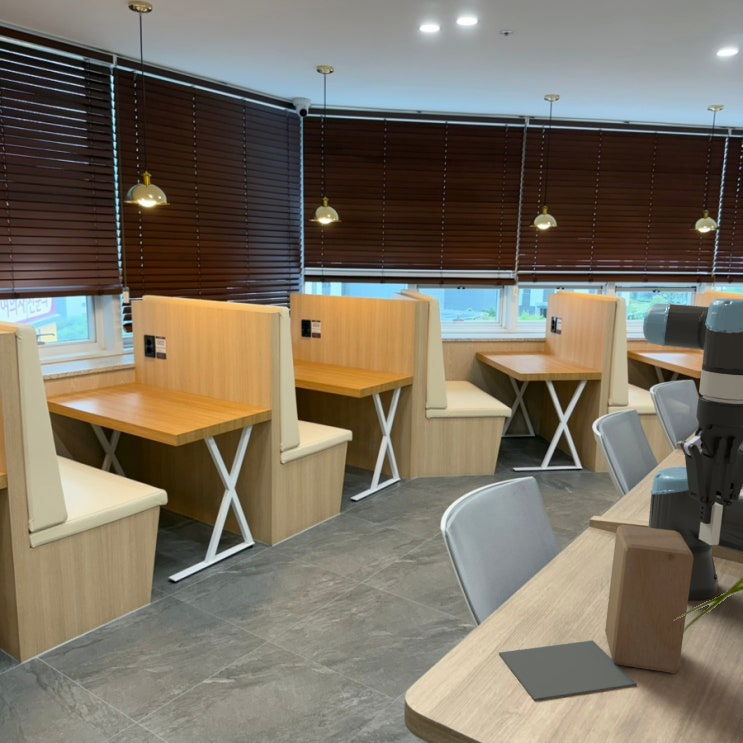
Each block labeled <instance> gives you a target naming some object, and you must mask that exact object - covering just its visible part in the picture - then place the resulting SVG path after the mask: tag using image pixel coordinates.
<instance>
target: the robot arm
mask: <svg viewBox="0 0 743 743" xmlns="http://www.w3.org/2000/svg"><path fill="white" fill-rule="evenodd" d="M642 331H643V336H644V338H645V340H646V341H647V342H648V343H649V344H652V345H657V346H662V347H670V348H678V349H679V348H681V349H689V350H701V351H703V356H702V364H701V372H700V382H699V391H698V393H699V394H700V395H702V396H700V397H699V398H698V399H697V406H696V407H697V408H696V419H697V422H698V426H697V428H696V430H695V432H694V437H692V438H691V439H690V440H689V441H686V440H683V441H681V442H680V444H679V446H680V448H681V450H682V453H683V454H684V460H685V461H684V462H685V466H675V467H668V468H663V469H660V470H658V471H657V472H656V473H655V475H654V477H653V481H652V487H651V490H650V494H651V495H650V505H649V516H648V518H649V519H648V527H647V528H655V529H664V530H672V531H677V532H678V533H680V534H681V536H682V538H683V539H684V541H685V542H686V544H687V546H688V547H689V549H690V550H691V552H692V554H693V557H694V558H693V566H692V573H691V581H690V588H689V596H688V601H694V600H695V601H699V600H705V599H709V598H712V597H713V596H715V595H716V594H717V591H718V584H719V578H718V574H717V570H716V566H715V562H714V558H713V554H712V546H716V547H719V548H723V549H726V550H729V551H732V552H735V553H738V554H740V555H743V298H715V299H713V300H711V302H710V303H709V305H708V306H700V305H699V306H698V305H689V304H677V303H675V304H674V303H654V304H652V305H651V306H649V308H648V309H647V310H646V312H645V316H644V318H643V325H642Z"/></svg>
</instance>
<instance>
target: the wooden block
mask: <svg viewBox="0 0 743 743" xmlns="http://www.w3.org/2000/svg"><path fill="white" fill-rule="evenodd" d="M614 540H615V541H614V550H613V560H612V566H611V577H610V586H609V593H608V594H609V595H608V603H607V611H606V618H605V619H606V620H605V628H604V631H605V636H606V640H607V644H608V647H609V648H608V649H609V653H610V656H611V659H612V660H613V662H614V663H616V664H617V665H618V666H626V667H633V668H639V669H644V670H645V669H646V670H653V671H658V672H665V673H672V674H674V673H675V674H676V673H677V672H678V670H679V668H680V662H681V655H682V647H683V640H684V632H685V624H686V617H687V609H688V603H689V600H688V596H689V588H690V581H691V573H692V566H693V558H694V557H693V554H692V552H691V550H690V549H689V547H688V546H687V544H686V542H685V541H684V539H683V538H682V536H681V534H680V533H678V532H677V531H672V530H664V529H655V528H648V527H647V526H645V527H644V526H636V525H628V524H620V525H618V526H617V528H616V533H615V539H614ZM684 613H686V615H685V616H683V617H681V618H679V619H677V620H675V621H673V620H674V619H676V618H677V617H679V616H681V615H682V614H684Z"/></svg>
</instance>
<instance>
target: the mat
mask: <svg viewBox="0 0 743 743" xmlns="http://www.w3.org/2000/svg"><path fill="white" fill-rule="evenodd" d="M498 655H499V657H500V658H501V659H502V661H503V663H505V664H506V665H507V668H508V669H509V670H510V671H511V672H512V673H513V675H514V676H515V677H516V679H517V680H518V681H519V683H520V684H521V686H522V687H523V688H524V689H525V691H526V692H527V694H528V695H529V696H530V698H532V701H541V700H548V699H554V698H560V697H567V696H574V695H581V694H586V693H596V692H601V691H607V690H608V691H609V690H613V689H620V688H621V689H622V688H626V687H633V686H637V685H638V683H637V682H636V681H635V680H634V679H633V678H632V677H631V676H630V675H629V674H628V673H627V672H625V670H624V669H623V668H622V667H621V665H618V664H616V663H614V662H613V659H612V657H610V655H608V654H607V653H606V651H604V650H603V649H602V648H601V647H600V645H598V643H596V642H595V641H594V640H584V641H577V642H570V643H564V644H563V643H562V644H554V645H548V646H546V645H545V646H539V647H531V648H524V649H517V650H509V651H508V650H507V651H500V652H498Z"/></svg>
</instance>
